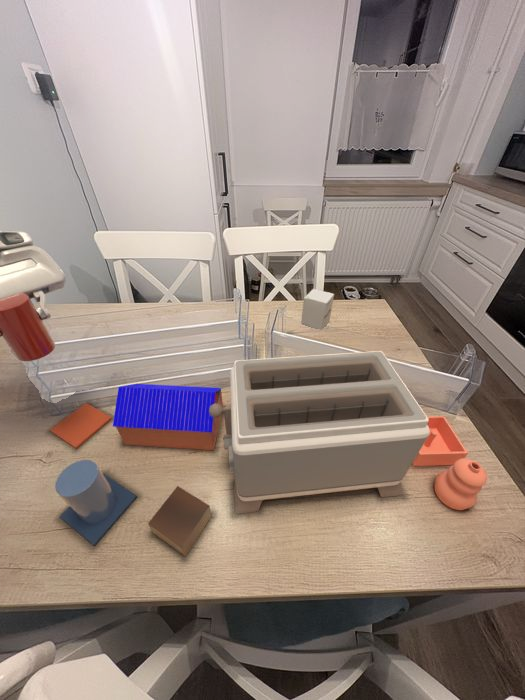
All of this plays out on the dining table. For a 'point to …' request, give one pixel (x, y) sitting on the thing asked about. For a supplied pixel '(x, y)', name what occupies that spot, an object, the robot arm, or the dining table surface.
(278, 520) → the dining table surface
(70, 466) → the blue canister
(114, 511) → the blue mat
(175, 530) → the riser
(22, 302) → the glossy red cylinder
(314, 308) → the white packaging box
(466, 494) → the pottery
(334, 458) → the toaster
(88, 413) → the red mat
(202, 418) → the house
